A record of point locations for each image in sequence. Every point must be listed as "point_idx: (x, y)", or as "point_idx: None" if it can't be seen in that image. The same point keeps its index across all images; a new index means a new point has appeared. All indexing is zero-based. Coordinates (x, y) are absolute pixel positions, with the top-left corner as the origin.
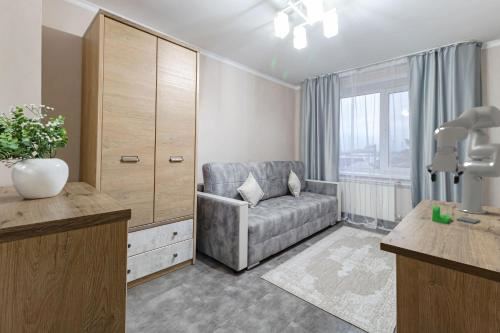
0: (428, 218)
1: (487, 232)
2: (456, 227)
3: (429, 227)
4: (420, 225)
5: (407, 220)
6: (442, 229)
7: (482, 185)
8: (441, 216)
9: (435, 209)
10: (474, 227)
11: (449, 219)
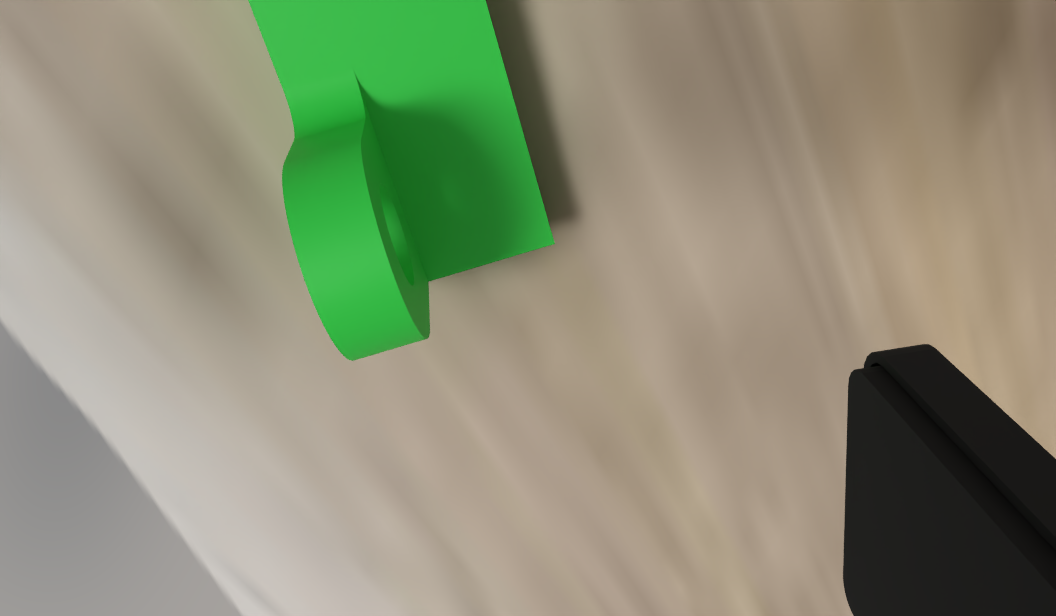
0: (231, 173)
1: (1002, 122)
2: (701, 272)
3: (547, 572)
4: (452, 597)
5: (226, 561)
6: (659, 510)
7: None
8: (357, 47)
9: (390, 347)
10: (832, 17)
11: (501, 57)
